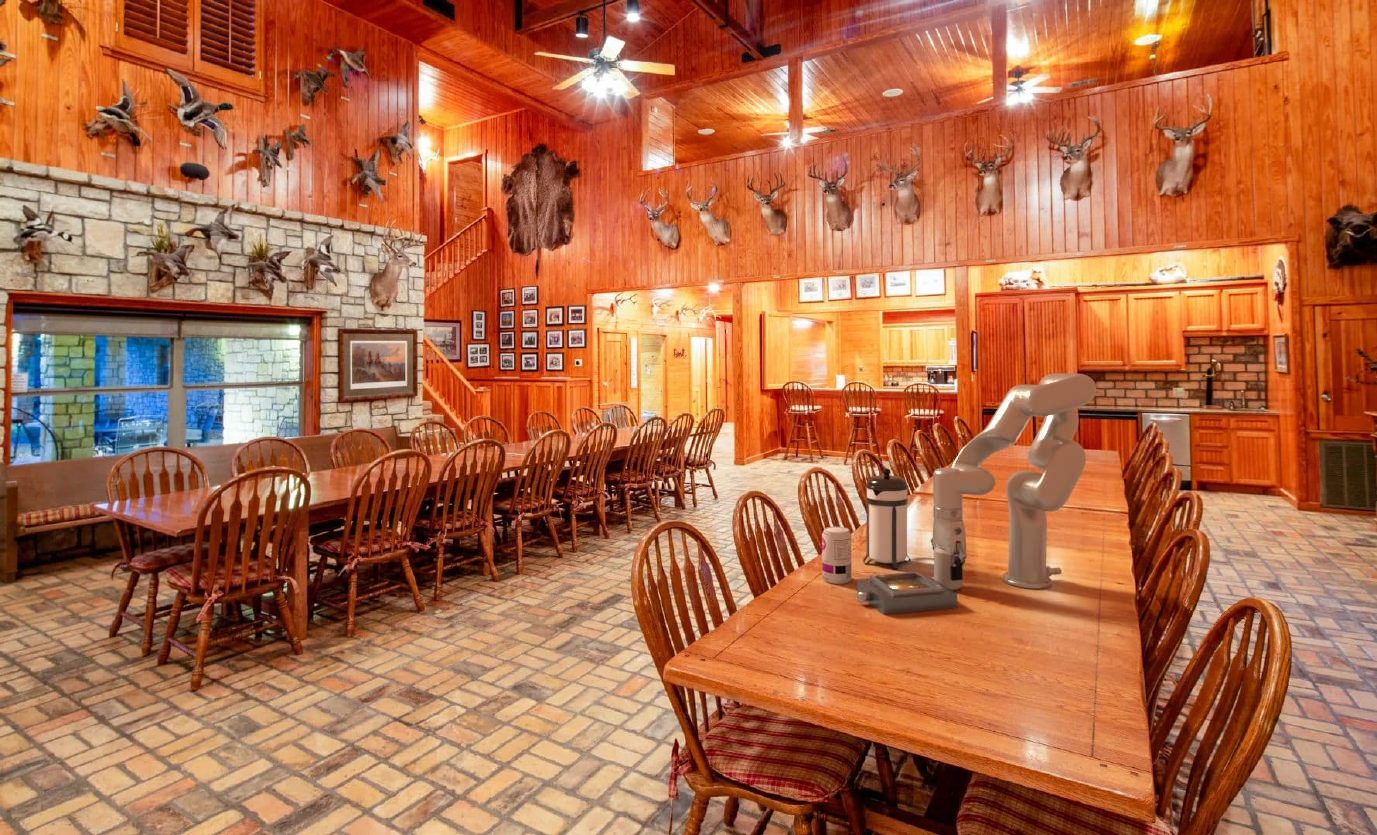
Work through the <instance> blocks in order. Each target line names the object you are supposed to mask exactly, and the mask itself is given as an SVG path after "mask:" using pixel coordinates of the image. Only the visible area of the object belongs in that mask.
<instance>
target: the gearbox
mask: <svg viewBox="0 0 1377 835" xmlns="http://www.w3.org/2000/svg"><path fill="white" fill-rule="evenodd" d="M856 597H857V598H856V599H857V601H858V602H859V603H862V602H864V603H865V602H867V603H868V604H869V605H871V606H872V607H873V608H875V610H876V611H878V612H880V614H882V616H883V615H885V616H887V615H896V614H906V613H917V612H930V611H941V610H951V609H952V610H953V609H958V592H956V590H951V589H950V588H948V587H946V586H945V585H943V584H941V583H940V582H938V581H936V580H934V577H932V576H929V575H928V574H926V573H920V572H918V571H908V572H897V573H885V574H884V573H883V574H873V575H872V574H871V575H869V577H868V578H858V579H856Z"/></svg>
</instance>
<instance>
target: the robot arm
mask: <svg viewBox="0 0 1377 835" xmlns="http://www.w3.org/2000/svg"><path fill="white" fill-rule="evenodd" d="M1096 392H1097V386H1096V382H1095V381H1094V380H1093V378H1091V377H1090V376H1088V375H1087V374H1082V373H1058V372H1057V373H1056V372H1055V373H1050V374H1046V375H1045V376H1043V377H1042V378H1041V379H1040V380H1039V383H1038V384H1018V385H1015V386H1013V387H1011V388H1010V389H1009V390H1008V392H1007V393H1006V395H1005V396H1004V397H1003V400H1002V401H1001V402H1000V404H999V405H998V408H997V409H996V411H995V413H994V414H993V415H992V417H991V419H990V420H989V422H988V424H987V425H986V427H985V428H984V429H983V430H982V431H981V432H979V433H978V434H977V435H976V436H974V437H973V438H972V439H971V440H970V441H969V442H967V443H966V444H965V445H964V447H963V448H961V450H960V452H958V455H957V456H956V458H955V459H954V461H953V463H952V464H951V467H938V468H936V469H935V470H934V471H933V473H932V484H933V486H932V487H933V488H932V491H933V493H932V494H933V495H932V496H933V498H932V499H933V508H932V509H933V524H932V538H931V539H930V543H931V546H932V550H933V552H934V549H935V548H936V547H937V546H936V544H938V546H940V547H944V548H945V551H946V552H947V554H948V556H950V557H951V562H952V566H951V580H952V581H955V580H962V579H963V580H964V575H963V574H964V571H963V569H964V565H965V562H966V560H967V558H968V554H967V537H966V528H965V522H964V520H963V509H964V508H963V495H970V496H971V495H972V496H983V495H987V494H989V493H991V492H992V491H993V489H994V488H995V485H996V480H995V477H994V474H993V473H992V472H990V471H989V470H987V469H986V468H983V467H981V465H982V464H983V463H984V462H985V460H987V459H988V458H989V457H990V456H992V455H993V454H995V453H997V452H999V451H1002V450H1003V451H1004V450H1005V449H1008V448H1010V447H1011V446H1013V445H1015V444H1016V443H1017V442H1018V440H1019V439H1020V437H1021V435H1022V433H1023V432H1024V430H1025V428H1026V426H1028V424H1029V422H1030V421H1031V418H1032V417H1038V418H1044V419H1043V421H1042V423H1041V426H1040V427H1039V429H1038V431H1037V433H1036V435H1035V438H1034V439H1033V441H1032V443H1031V445H1030V447H1029V450H1028V452H1027V460H1028V462H1029V464H1030V465H1031V466H1033V467H1035V468H1036V469H1038V470H1042V471H1043V473H1040V472H1036V471H1031V470H1025V469H1024V470H1018V471H1016V472H1013V473H1012V474H1011V475H1010V476H1009V477H1008V479H1007V482H1006V486H1005V491H1006V492H1005V494H1006V498H1007V505H1008V564H1007V565H1008V566H1007V567H1008V568H1007V572H1006V571H1005V572H1004V573H1002V576H1001V578H1002V581H1003V582H1005V583H1006V584H1008V585H1011V586H1014V587H1019V588H1023V589H1035V590H1036V589H1038V590H1039V589H1046V588H1049V587H1051V586H1052V584H1053V580H1052V578H1050V577H1051V576H1052V575H1054V576H1055V575H1062V569H1061V568H1060V567H1059V566H1058V567H1051V566H1049V565H1048V566H1047V544H1048V543H1047V540H1048V539H1047V537H1048V536H1047V534H1048V533H1047V532H1048V519H1047V512H1050V513H1051V512H1056V511H1059V510H1060V509H1061V508H1062V507H1063V506H1064V505H1065V504H1066V503H1067V501H1068V500H1069V498H1070V496H1071V494H1072V493H1073V491H1074V489H1075V487H1076V485H1077V482H1078V481H1079V479H1080V477H1081V476H1082V474H1083V471H1084V470H1085V466H1086V461H1087V460H1086V459H1087V458H1086V452H1085V449H1084V448H1083V446H1082V445H1081V444H1080V443H1078V442H1077V441H1074V440H1073V439H1074V437H1075V435H1076V433H1077V430H1078V427H1079V422H1080V420H1079V413H1078V410H1077V409H1078V408H1080V407H1083V406H1084V405H1087V404H1089V403H1090V402H1091V401H1092V400H1093V399H1094V397H1095V396H1096ZM953 552H958V553H959V554H953ZM954 557H958V559H957V560H956V561H955V558H954Z"/></svg>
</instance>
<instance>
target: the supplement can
mask: <svg viewBox="0 0 1377 835" xmlns="http://www.w3.org/2000/svg"><path fill="white" fill-rule="evenodd" d="M821 555H822V556H821V558H822V559H821V565H822V567H821V569H822V570H821V571H822V572H821V574H822V579H823V580H824V581H825V582H826V583H828V584H831V585H843V584H848V583H849V582H850V581H851V580H852V534H851V532H850V529H849V528H847V527H843V526H828V527H825V528H824V529H823V531H822V533H821Z"/></svg>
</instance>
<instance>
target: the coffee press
mask: <svg viewBox="0 0 1377 835" xmlns="http://www.w3.org/2000/svg"><path fill="white" fill-rule="evenodd" d="M882 473H883V474H884V475H883V474H882V475H875V476H871V477H870V478H868V479H867V481H866V482H867V483H865V488H866V496H865V499H866V500H865V502H866V554H865V557H864V558H863V560H862V562H863V563H864V564H865V565H868V564H870V563H871V562H872V561H874V562H878V563H883V564H890V567H891V569H892V570H898V568H899V567H898V563H902V562H903V561H905V562H906V563H907V564H908V563H911V561H912V560H911V558H910V557H909V554H908V504H909V497H908V490H909V484H907V481H906V480H905V478H902V477H901V476H896V475H891V473H892V471H891V469H889V468H887V467H886V468H884V469H883V471H882ZM868 558H869V559H868ZM907 558H908V560H906V559H907ZM867 559H868V560H867Z"/></svg>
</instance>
